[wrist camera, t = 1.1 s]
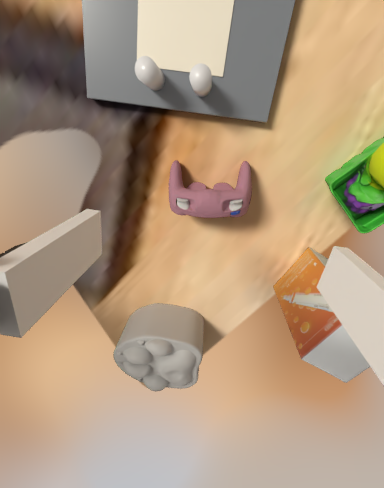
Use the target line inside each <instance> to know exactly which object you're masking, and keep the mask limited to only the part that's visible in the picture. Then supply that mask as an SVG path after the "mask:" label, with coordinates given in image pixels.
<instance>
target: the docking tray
mask: <svg viewBox="0 0 384 488" xmlns="http://www.w3.org/2000/svg"><path fill="white" fill-rule="evenodd" d="M294 3H295V0H82V11H83V29H84V47H85V65H86V83H87V98H90V99H95V100H103V101H110V102H117V103H124V104H132V105H139V106H146V107H154V108H161V109H168V110H175V111H183V112H190V113H197V114H205V115H212V116H219V117H226V118H234V119H241V120H248V121H256V122H263V123H266V122H267V120H268V115H269V111H270V107H271V102H272V98H273V94H274V89H275V85H276V81H277V77H278V72H279V68H280V64H281V59H282V55H283V51H284V46H285V42H286V38H287V34H288V29H289V25H290V21H291V16H292V12H293V8H294Z"/></svg>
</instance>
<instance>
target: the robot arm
mask: <svg viewBox="0 0 384 488" xmlns="http://www.w3.org/2000/svg"><path fill="white" fill-rule="evenodd" d="M101 255H102V237H101V213H100V211H97V210H91V209H86V210H84V211H83V212H81V213H79V214H77V215H76V216H74V217H72V218H70V219H68V220H67V221H65V222H63V223H61V224H60V225H58V226H56V227H54V228H52V229H51V230H49V231H47V232H45V233H43V234H42V235H40V236H38V237H36V238H35V239H33V240H31V241H29V242H27V243H24V244H20V245H17V246H14V247H13V248H11V249H9V250H7V251H5V253H2V254H0V334H2V335H7V336H13V337H20V338H21V337H22V336H23V335H24V334H25V333H26V332H27V331H28V330H29V329H30V328H31V327H32V326H33V325H34V324H35V323H36V322H37V321H38V320H39V319H40V318H41V317H42V316H43V315H44V314H45V313H46V312H47V311H48V310H49V308H50V307H51V306H52V305H53V304H54V303H55V302H56V301H57V300H58V299H59V298H60V297H61V296H62V295H63V294H64V293H65V292H66V291H67V290H68V289H69V288H70V287H71V286H72V285H73V284H74V283H75V282H76V281H77V280H78V278H79V277H80V276H81V275H82V274H83V273H84V272H85V271H86V270H87V269H88V268H89V267H90V266H91V265H92V264H93V263H94V262H95V261H96V260H97V259H98V258H99V257H100V256H101ZM317 289H318V290H319V291H320V293H321V294H322V296H323V297H324V299H325V300H326V302H327V303H328V305H329V306H330V308H331V309H332V311H333V312H334V314H335V315H336V317H337V318H338V319H339V321H340V322H341V324H342V325H343V327H344V328H345V330H346V331H347V333H348V334H349V336H350V337H351V339H352V340H353V342H354V343H355V344H356V346H357V347H358V349H359V350H360V352H361V353H362V355H363V356H364V358H365V359H366V361H367V362H368V364H369V365H370V367H371V368H372V369H373V371H374V372H375V374H376V375H377V377H378V378H379V380H380V381H381V383H382V384H383V386H384V277H382V276H381V275H380V274H379V273H378V272H376V271H375V270H374V269H373V268H372V267H370V266H369V265H368V264H367V263H365V262H364V261H363V260H362V259H361V258H359V257H358V256H357V255H356V254H355V253H353V252H352V251H351V250H350V249H349V248H345V247H338V246H334V247H333V250H332V252H331V254H330V257H329V259H328V261H327V264H326V266H325V268H324V271H323V273H322V275H321V278H320V280H319V283H318V285H317Z"/></svg>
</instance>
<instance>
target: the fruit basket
mask: <svg viewBox="0 0 384 488" xmlns="http://www.w3.org/2000/svg"><path fill="white" fill-rule="evenodd" d="M325 181H326V182H327V184H328V185H329V188H330V191H331V192H332V194H333V195H334V196H335V198H336V199H337V201H338V202H339V204H340V205H341V206H342V208H343V209H344V211H345V212H346V214H347V215H348V217H349V218H350V220H351V221H352V223H353V224H354V226H355V227H356V229H357V230H358V231H359V232H360V233H368V232H371V231H372V230H374V229H376V228H377V227H379V226H381V225H382V224H384V137H383V138H381V139H379V140H377V141H375V142H374V143H373V144H371V145H370V146H368V147H367V148H366V149H365V150H364V151H363V152H362V153H361V154H359V155H356V156H355V157H353V158H352V159H351V160H349V161H348V162H346V163H345V164H344V165H343V166H342V167H341V169H338V170H335V171H334V172H333V173H331V174H330V175H328V176H327V177H326V178H325Z"/></svg>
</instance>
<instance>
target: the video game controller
mask: <svg viewBox="0 0 384 488" xmlns="http://www.w3.org/2000/svg"><path fill="white" fill-rule="evenodd" d="M251 193H252V184H251V169H250V165H249V163H248V162H247V161H244V162H243V163H242V165H241V168H240V172H239V176H238V181H237V186H236V188H235V189H233V188H232V187H231V186H230V185H229V184H227V183H218V184H216V185H214V187H213V189H206V186H205V185H204V184H202V183H199V182H194V183H192V184H190V185H189V186H188V187H187V188H184V186H183V182H182V172H181V166H180V163H179V162H178V161H174V162H173V164H172V166H171V171H170V179H169V202H170V208H171V210H172V211H173V212H174V213H176V214H178V215H190V216H195V217H204V218H218V217H227V216H230V217H240V216H243V215H244V214H246V212H247V210H248V207H249V204H250V200H251Z"/></svg>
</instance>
